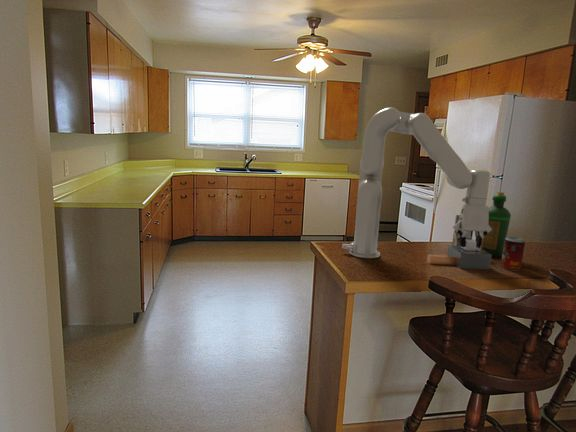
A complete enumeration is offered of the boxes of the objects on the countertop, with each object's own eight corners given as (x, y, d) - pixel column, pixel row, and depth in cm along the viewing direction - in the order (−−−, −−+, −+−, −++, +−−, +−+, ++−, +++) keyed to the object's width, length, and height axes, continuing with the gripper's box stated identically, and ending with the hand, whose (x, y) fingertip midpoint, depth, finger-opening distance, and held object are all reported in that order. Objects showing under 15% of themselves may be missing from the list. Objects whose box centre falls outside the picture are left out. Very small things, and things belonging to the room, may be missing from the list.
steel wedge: (464, 266, 165) (466, 241, 163) (459, 263, 169) (461, 239, 167) (474, 266, 165) (476, 241, 164) (469, 263, 169) (471, 239, 167)
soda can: (497, 265, 168) (501, 235, 166) (514, 266, 168) (519, 236, 166) (506, 270, 161) (511, 239, 159) (524, 271, 161) (529, 240, 159)
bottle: (474, 251, 189) (483, 190, 184) (499, 253, 188) (508, 191, 183) (482, 257, 179) (491, 192, 174) (508, 259, 178) (518, 194, 173)
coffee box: (470, 255, 182) (475, 218, 179) (454, 253, 183) (459, 217, 180) (465, 250, 191) (470, 215, 188) (451, 248, 192) (455, 214, 189)
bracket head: (433, 267, 161) (435, 252, 160) (422, 258, 173) (424, 244, 171) (489, 269, 162) (491, 254, 160) (475, 260, 173) (477, 246, 172)
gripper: (458, 202, 159) (452, 248, 162) (502, 204, 159) (495, 250, 163) (450, 199, 166) (444, 243, 169) (492, 201, 167) (486, 245, 170)
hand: (469, 246), depth 166 cm, fingers open, 5 cm apart
